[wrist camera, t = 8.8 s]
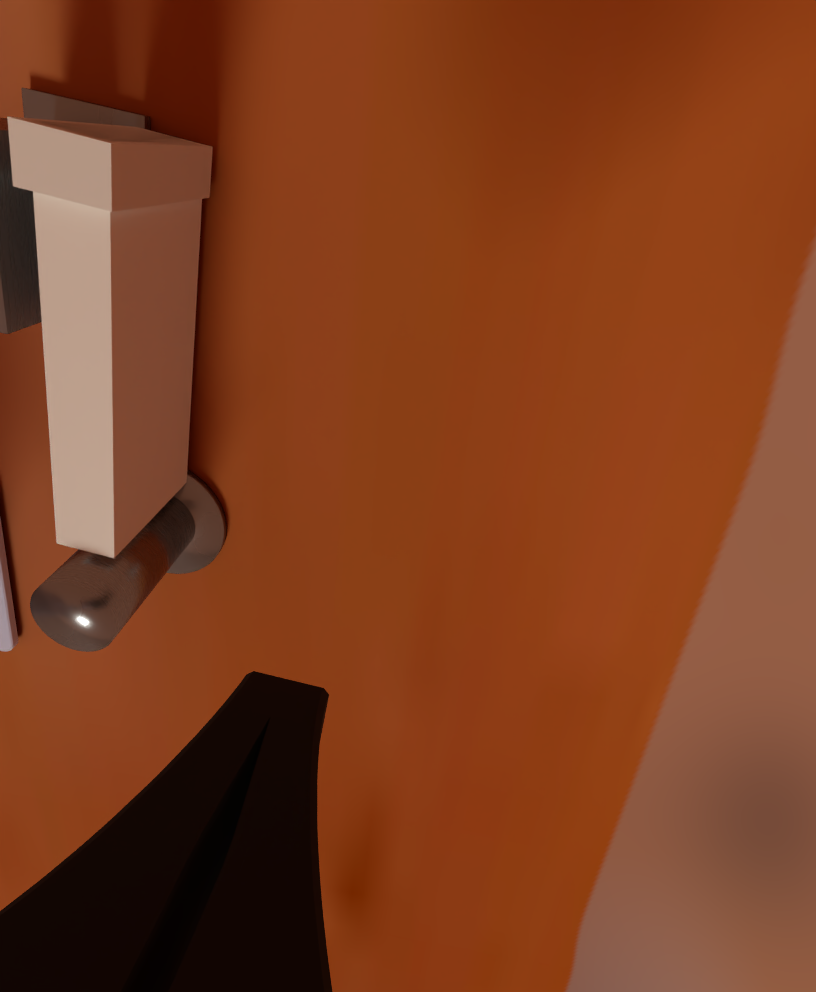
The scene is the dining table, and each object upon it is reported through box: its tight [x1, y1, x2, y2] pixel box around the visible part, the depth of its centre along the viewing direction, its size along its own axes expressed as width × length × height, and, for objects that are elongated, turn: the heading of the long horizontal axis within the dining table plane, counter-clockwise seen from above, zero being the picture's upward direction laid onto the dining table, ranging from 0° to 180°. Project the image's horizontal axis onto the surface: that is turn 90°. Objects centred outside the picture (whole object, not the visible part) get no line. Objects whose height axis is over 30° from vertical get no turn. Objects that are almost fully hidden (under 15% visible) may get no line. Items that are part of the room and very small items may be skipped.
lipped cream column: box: [7, 116, 213, 558], centre depth 16 cm, size 10×2×5 cm, turn 167°
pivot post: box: [30, 470, 227, 652], centre depth 20 cm, size 4×4×6 cm
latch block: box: [0, 88, 150, 334], centre depth 15 cm, size 3×5×5 cm, turn 169°
